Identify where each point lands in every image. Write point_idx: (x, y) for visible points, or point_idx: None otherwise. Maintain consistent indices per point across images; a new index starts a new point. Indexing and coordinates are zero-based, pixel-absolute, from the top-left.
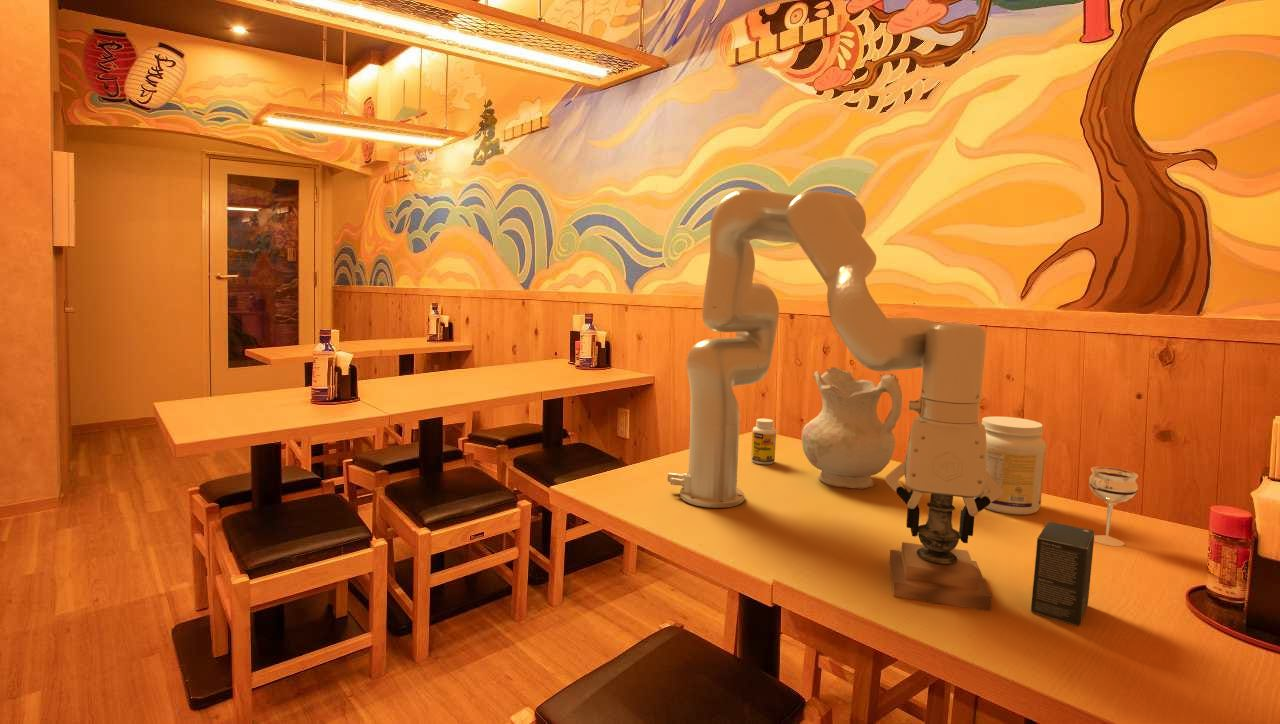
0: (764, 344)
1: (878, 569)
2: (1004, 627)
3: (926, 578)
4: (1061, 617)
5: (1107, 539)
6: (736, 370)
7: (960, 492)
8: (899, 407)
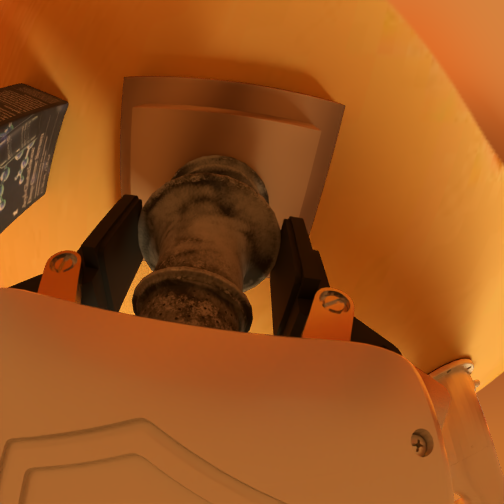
0: None
1: (325, 227)
2: (132, 18)
3: (264, 115)
4: (33, 89)
5: None
6: None
7: (60, 318)
8: None
